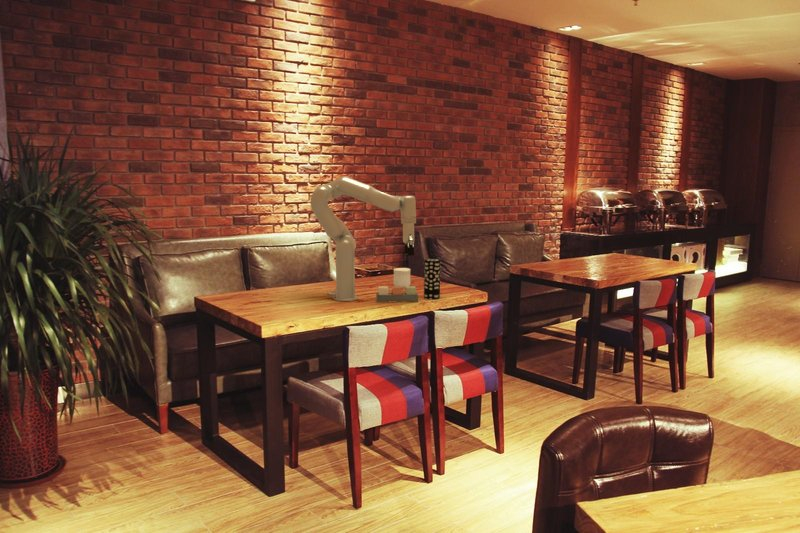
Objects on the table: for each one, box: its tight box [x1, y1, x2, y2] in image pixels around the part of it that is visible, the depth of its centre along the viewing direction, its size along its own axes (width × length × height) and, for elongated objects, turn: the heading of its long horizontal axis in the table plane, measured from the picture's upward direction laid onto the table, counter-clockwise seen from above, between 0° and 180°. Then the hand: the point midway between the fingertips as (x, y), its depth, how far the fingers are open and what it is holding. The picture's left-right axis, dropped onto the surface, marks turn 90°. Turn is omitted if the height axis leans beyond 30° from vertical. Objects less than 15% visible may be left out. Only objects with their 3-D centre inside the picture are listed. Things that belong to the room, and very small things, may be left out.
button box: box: [375, 291, 419, 303], centre depth 328 cm, size 21×7×4 cm, turn 96°
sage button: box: [404, 285, 417, 295], centre depth 329 cm, size 5×5×5 cm
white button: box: [377, 285, 389, 295], centre depth 327 cm, size 5×5×5 cm
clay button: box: [391, 285, 403, 295], centre depth 328 cm, size 5×5×5 cm
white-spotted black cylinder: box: [423, 258, 442, 300], centre depth 335 cm, size 8×8×20 cm
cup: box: [392, 267, 412, 288], centre depth 368 cm, size 10×10×10 cm
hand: (409, 254), depth 326 cm, fingers open, 9 cm apart
